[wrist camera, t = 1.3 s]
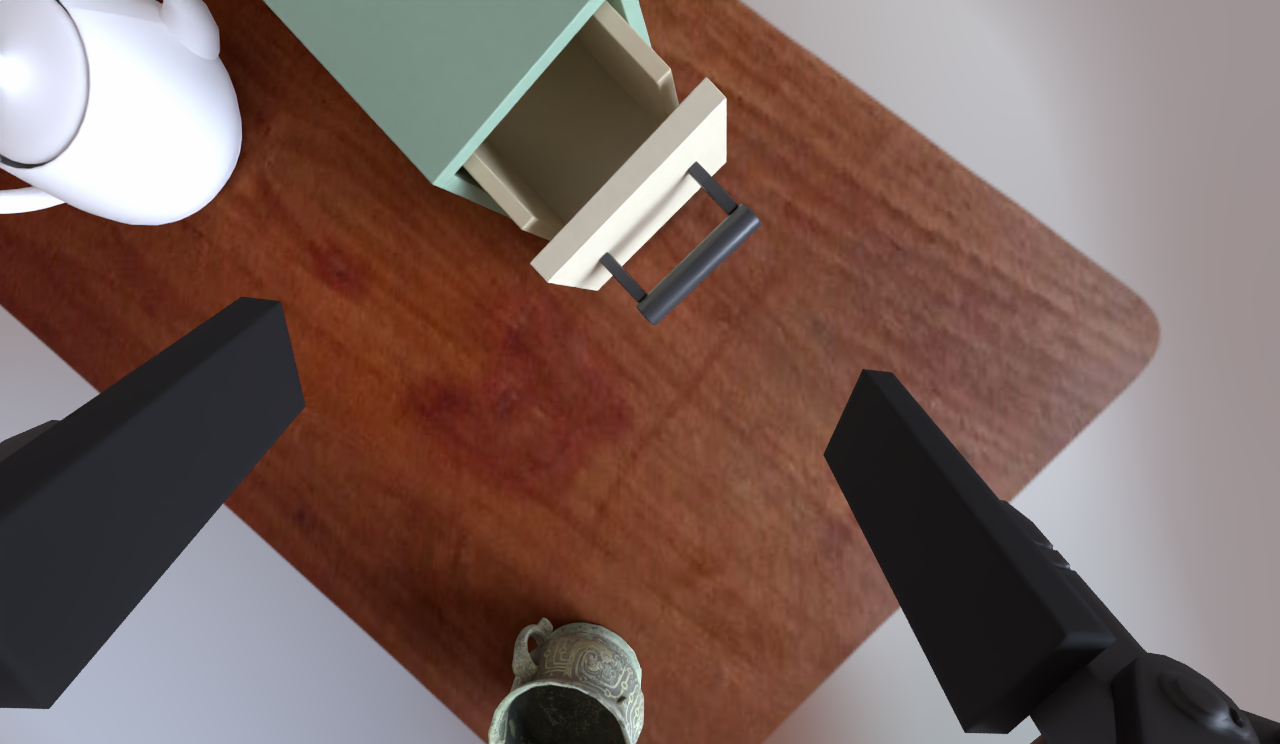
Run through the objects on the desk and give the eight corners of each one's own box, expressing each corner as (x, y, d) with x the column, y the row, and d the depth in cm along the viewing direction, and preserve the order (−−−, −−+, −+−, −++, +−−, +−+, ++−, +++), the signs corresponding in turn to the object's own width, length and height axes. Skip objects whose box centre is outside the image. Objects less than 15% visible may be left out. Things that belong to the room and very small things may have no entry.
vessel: (490, 628, 36) (442, 694, 30) (592, 571, 34) (563, 628, 28) (584, 772, 36) (554, 867, 30) (690, 722, 34) (682, 812, 28)
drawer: (778, 217, 29) (801, 176, 20) (645, 343, 31) (614, 355, 22) (565, -10, 29) (497, -144, 21) (447, 129, 31) (342, 60, 23)
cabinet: (661, 81, 30) (627, -42, 19) (527, 226, 32) (432, 185, 22) (493, -97, 30) (371, -312, 20) (372, 58, 33) (206, -61, 22)
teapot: (150, 299, 37) (-77, 295, 27) (41, 146, 37) (-228, 81, 27) (358, 96, 33) (184, -5, 22) (235, -78, 33) (4, -261, 22)
